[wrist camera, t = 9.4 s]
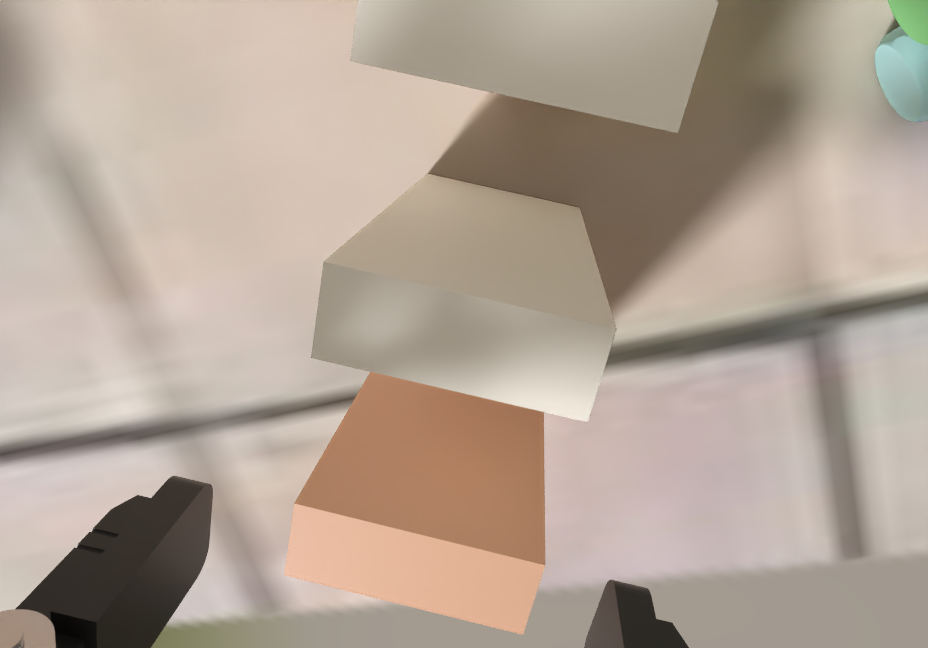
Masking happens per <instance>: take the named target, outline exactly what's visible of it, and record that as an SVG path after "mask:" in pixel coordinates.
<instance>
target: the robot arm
mask: <svg viewBox="0 0 928 648" xmlns="http://www.w3.org/2000/svg"><path fill="white" fill-rule="evenodd" d="M212 498H213V488H212V486H211V485H210V484H207V483H203V482H199V481H195V480H190V479H186V478H182V477H178V476H172V477H170V478H169V479H168V480H167V481H166V482H165V483H164V485H163V486H162V487H161V488H160V489H159V490H158V491H157V492H156V493H155V495H154V496H153V497H152V498H148V497H143V496H139V495H137V496H135V497H133V498H131V499H130V500H128V501H126V502H124V503H122V504H120V505H118V506H117V507H115V508H113V509H111V510H110V511H109V512H108V513H107V514H106V515H105V517H104V518H103V519H102V520H101V521H100V522H99V523H98V524H97V525H96V526H95V527H94V528H93V531H92V532H89V533H88V534H87V535H86V536H85V537H84V538H83V539H82V540H81V542H80V543H79V544H78V547H77V548H74V549H73V550H72V551H71V552H70V553H69V554H68V555H67V556H66V557H65V558H64V559H63V560H62V561H61V562H60V563H59V564H58V565H57V566H56V568H55V569H54V570H53V571H52V572H51V573H50V574H49V575H48V576H47V577H46V578H45V579H44V580H43V581H42V582H41V583H40V584H39V585H38V586H37V587H36V588H35V589H34V590H33V591H32V592H31V594H30V595H29V596H28V597H27V598H26V599H25V600H24V601H23V602H22V603H21V604H20V605H19V606H18V607H17V608H16V609H15V610H7V611H1V612H0V648H151V646H152V645H153V644H154V642H155V641H156V639H157V638H158V636H159V634H160V633H161V632H162V630H163V629H164V627H165V626H166V624H167V622H168V621H169V619H170V618H171V616H172V615H173V613H174V612H175V610H176V609H177V607H178V606H179V604H180V603H181V601H182V600H183V598H184V597H185V595H186V594H187V592H188V591H189V589H190V588H191V586H192V585H193V583H194V582H195V580H196V579H197V577H198V575H199V574H200V572H201V569H202V567H203V565H204V562H205V559H206V556H207V552H208V548H209V539H210V525H211V511H212ZM584 648H689V647H688V646H687V644H686V643H685V641H684V640H683V638H682V637H681V635H680V634H679V632H678V631H677V630H676V628H675V626H674V625H673V623H670V622H667V621H662V620H658V619H656V617H655V611H654V607H653V602H652V598H651V594H650V591H649V590H648V589H647V588H644V587H639V586H635V585H631V584H627V583H622V582H618V581H614V580H609V581H608V582H607V584H606V586H605V589H604V591H603V594H602V597H601V600H600V602H599V605H598V608H597V611H596V613H595V616H594V619H593V621H592V624H591V627H590V630H589V632H588V635H587V638H586V642H585V647H584Z"/></svg>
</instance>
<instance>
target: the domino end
mask: <svg viewBox="0 0 928 648" xmlns="http://www.w3.org/2000/svg"><path fill="white" fill-rule="evenodd" d="M544 568H545V495H544V412H541V411H537V410H533V409H528V408H524V407H520V406H515V405H511V404H507V403H503V402H498V401H494V400H490V399H485V398H481V397H477V396H473V395H468V394H464V393H460V392H456V391H451V390H447V389H443V388H438V387H434V386H430V385H426V384H421V383H417V382H413V381H408V380H404V379H400V378H396V377H391V376H387V375H383V374H378V373H374V372H370V374H369V375H368V377H367V379H366V380H365V382H364V384H363V386H362V387H361V389H360V391H359V393H358V394H357V396H356V398H355V400H354V401H353V403H352V405H351V406H350V408H349V410H348V412H347V413H346V415H345V417H344V419H343V420H342V422H341V424H340V425H339V427H338V429H337V431H336V432H335V434H334V436H333V438H332V439H331V441H330V443H329V444H328V446H327V448H326V450H325V451H324V453H323V455H322V457H321V458H320V460H319V462H318V463H317V465H316V467H315V469H314V470H313V472H312V474H311V476H310V477H309V479H308V481H307V483H306V484H305V486H304V488H303V489H302V491H301V493H300V495H299V496H298V498H297V500H296V502H295V503H294V509H293V517H292V524H291V531H290V538H289V545H288V552H287V559H286V566H285V573H284V575H286V576H290V577H294V578H298V579H302V580H306V581H310V582H314V583H318V584H322V585H326V586H330V587H334V588H338V589H342V590H346V591H350V592H354V593H358V594H362V595H366V596H370V597H374V598H378V599H382V600H386V601H390V602H394V603H398V604H402V605H406V606H410V607H414V608H418V609H422V610H426V611H430V612H434V613H438V614H442V615H446V616H450V617H454V618H458V619H462V620H466V621H470V622H474V623H478V624H482V625H486V626H490V627H494V628H499V629H502V630H507V631H510V632H514V633H519V634H523V633H524V630H525V627H526V624H527V620H528V618H529V614H530V611H531V608H532V605H533V602H534V599H535V596H536V593H537V590H538V586H539V583H540V580H541V577H542V574H543V571H544Z"/></svg>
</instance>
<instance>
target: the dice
mask: <svg viewBox="0 0 928 648" xmlns="http://www.w3.org/2000/svg"><path fill="white" fill-rule="evenodd" d="M888 2H889V5H890V8H891V10H892V12H893V15H894V17H895V18H896V20H897V22H898V23H899V25H900V26H899V27H898V28H896V29H894V30H893V31H891V32H890V33H888V34H887V35H886V36H885V37H884V38H883V39H882V41H881V43H880V45H879V47H878V48H877V51H876V54H875V68H876V73H877V77H878V80H879V83H880V85H881V88H882V90H883V92H884V94H885V96H886V98H887V100H888V101H889V103H890V104H891V106H892V107H893V108H894V109H895V111H896V112H897V113H898V114H899V115H900V116H902V117H903V118H904V119H906V120H909V121H913V122H922V121H928V0H888Z"/></svg>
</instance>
